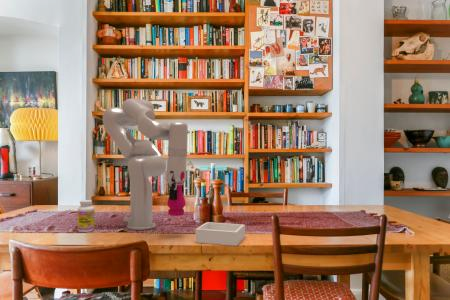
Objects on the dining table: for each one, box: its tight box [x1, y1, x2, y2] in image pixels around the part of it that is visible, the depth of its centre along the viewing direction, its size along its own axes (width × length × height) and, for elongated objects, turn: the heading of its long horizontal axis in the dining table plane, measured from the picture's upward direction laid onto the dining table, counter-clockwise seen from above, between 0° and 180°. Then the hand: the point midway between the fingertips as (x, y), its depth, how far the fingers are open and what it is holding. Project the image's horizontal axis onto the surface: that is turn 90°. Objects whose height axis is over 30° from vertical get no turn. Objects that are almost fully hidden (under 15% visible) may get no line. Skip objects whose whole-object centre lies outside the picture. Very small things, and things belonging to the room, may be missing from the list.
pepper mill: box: [166, 171, 186, 217], centre depth 145 cm, size 7×7×20 cm
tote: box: [194, 221, 246, 247], centre depth 140 cm, size 16×13×5 cm
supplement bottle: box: [77, 199, 95, 233], centre depth 153 cm, size 7×7×13 cm
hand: (176, 197), depth 145 cm, fingers closed on pepper mill, 5 cm apart
